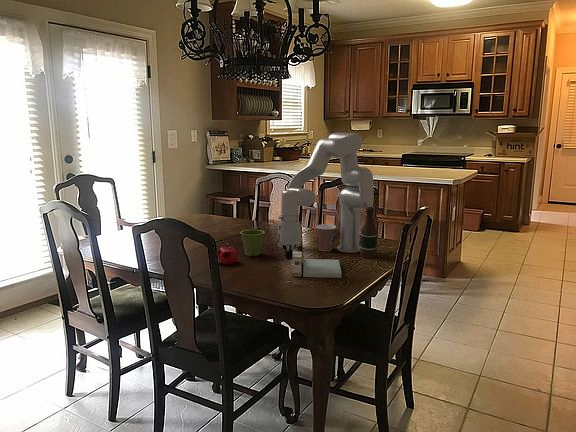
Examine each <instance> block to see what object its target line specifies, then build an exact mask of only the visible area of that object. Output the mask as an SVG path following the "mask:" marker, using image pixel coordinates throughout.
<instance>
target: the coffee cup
mask: <svg viewBox="0 0 576 432" xmlns="http://www.w3.org/2000/svg"><path fill="white" fill-rule="evenodd" d="M315 228H316V235H317V244H318V250H319V251H322V252H331V251H333V249H334V245H335V244H334V243H335V236H336V229H337V226H336V225H335V224H328V223H327V224H317V225H316V226H315Z"/></svg>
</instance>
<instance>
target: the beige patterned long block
mask: <svg viewBox="0 0 576 432" xmlns="http://www.w3.org/2000/svg"><path fill="white" fill-rule="evenodd" d="M302 265H303V251H293V257H292V260H291V277H302V268H303V267H302Z"/></svg>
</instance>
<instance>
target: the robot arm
mask: <svg viewBox="0 0 576 432" xmlns="http://www.w3.org/2000/svg"><path fill="white" fill-rule="evenodd" d="M362 144H363V139H362V136H361V135H360V134H358V133H356V132H333V133H330V134H329V135H328V137H326V138H321V139H319V140H318V141H317V142H316V145H315V147H314V149H313V151H312V153H311V155H310V157H309V159H308V162H307V164H306V165H305V166H304V167H303V168H301V169H300V170H299V171H298V172H297V173H296V174H295V175H294V176H293V177H292V178H291V179H290V181H289V184H288V185H287V188H286V189H284V190H282V192H281V205H280V206H281V210H280V212H281V213H280V216H278V220H280V221H279V224H278V228H277V229H278V230H277V247H278V248H282V249H283V250H284V257H285V259H286V260H288V261H292V258H293V252H295V251H294V250H295V248H296V247H298V246H300V245H301V243H302V239H303V238H302V237H303V236H302V235H303V234H302V226H301V221H299V210H300V207H310V206H312V205H314V203H315V202H316V198H317V197H316V194H315V192H314V191H313V190H311V189H307V188H302V187H303V186H304V185H305V184H306V183H308V182H310V180H312V179H313V180H314V179H315V178H318V177H320V176H322V175H324V173H325V171H326V169H327V167H328V165H329V162H330V161H331V158H337V159H339V163H340V178H341V179H340V180H341V182H342V184H343V185H345V186H351V187H344V188H343V189H341V191H340V192H339V195H338V198H339V205H340V232H339V233H340V234H339V235H340V236H339V237H340V239H339V240H340V241H339V242H340V243H339V245H337V247H336V250H337V251H339V252H342V253H350V254H351V253H352V254H355V253H360V232H361V231H360V230H361V229H360V226H361V222H360V221H361V214H360V211H359V209H362V210H366V208H367V207H372V206H373V205H374V198H375V196H374V195H375V194H374V176H373V175H374V174H373V172H372V170H371V169H369V168H368V167H365V166H364V167H363V166H359V160H358V155H357V154H358V153H357V152H359V150H360V149H361V147H362ZM357 187H358V188H357Z"/></svg>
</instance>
